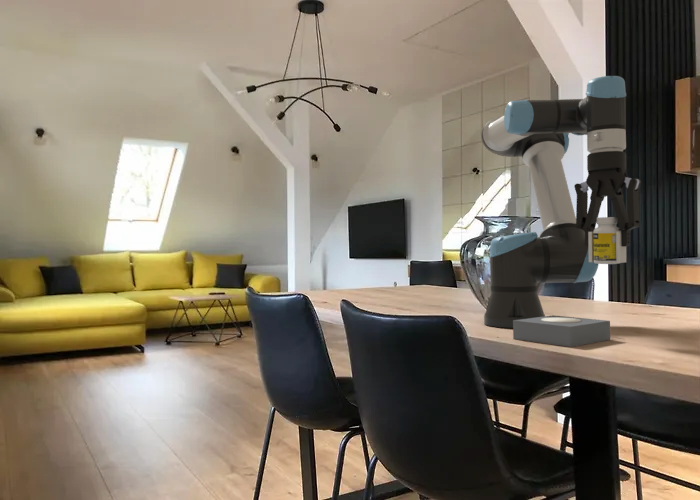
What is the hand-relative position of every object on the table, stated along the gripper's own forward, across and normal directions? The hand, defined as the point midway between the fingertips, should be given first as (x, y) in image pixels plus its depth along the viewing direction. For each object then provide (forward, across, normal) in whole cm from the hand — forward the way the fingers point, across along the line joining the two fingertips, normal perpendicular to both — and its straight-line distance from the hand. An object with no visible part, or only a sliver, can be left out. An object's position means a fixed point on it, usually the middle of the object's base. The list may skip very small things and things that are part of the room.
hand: (607, 262), depth 125 cm
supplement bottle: (+1, 0, 0) cm, 1 cm away
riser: (+16, -6, -7) cm, 19 cm away
